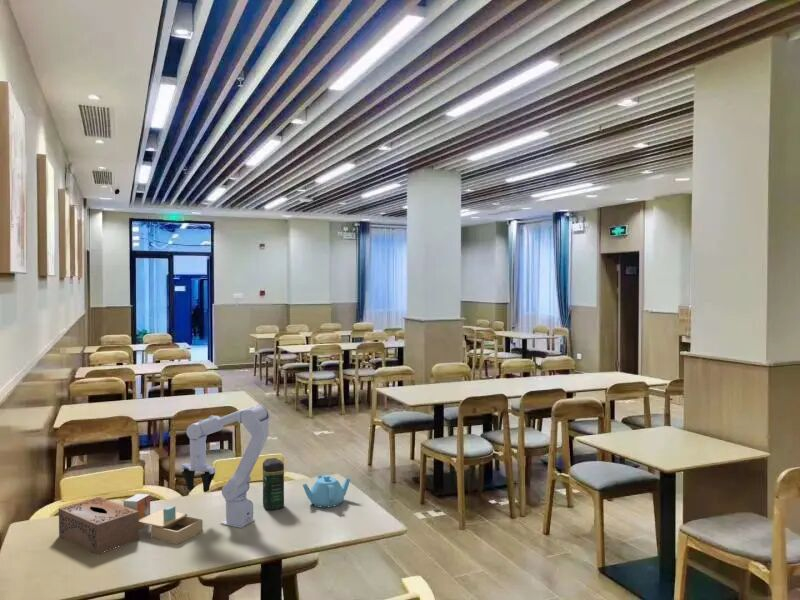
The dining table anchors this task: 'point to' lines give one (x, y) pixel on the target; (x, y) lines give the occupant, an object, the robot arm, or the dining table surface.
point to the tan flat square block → (162, 517)
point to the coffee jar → (273, 483)
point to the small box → (139, 505)
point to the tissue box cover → (98, 524)
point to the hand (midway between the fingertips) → (198, 490)
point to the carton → (178, 530)
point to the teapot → (326, 491)
